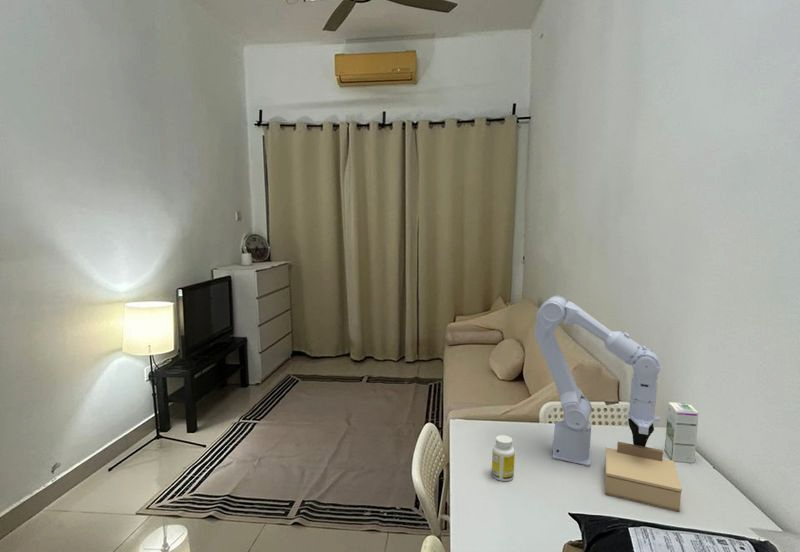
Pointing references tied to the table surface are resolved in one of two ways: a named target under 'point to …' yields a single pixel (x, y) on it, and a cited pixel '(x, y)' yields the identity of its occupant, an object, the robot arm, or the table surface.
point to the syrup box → (681, 432)
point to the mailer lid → (642, 466)
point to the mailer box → (642, 493)
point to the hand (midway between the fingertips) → (638, 449)
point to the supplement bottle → (503, 459)
